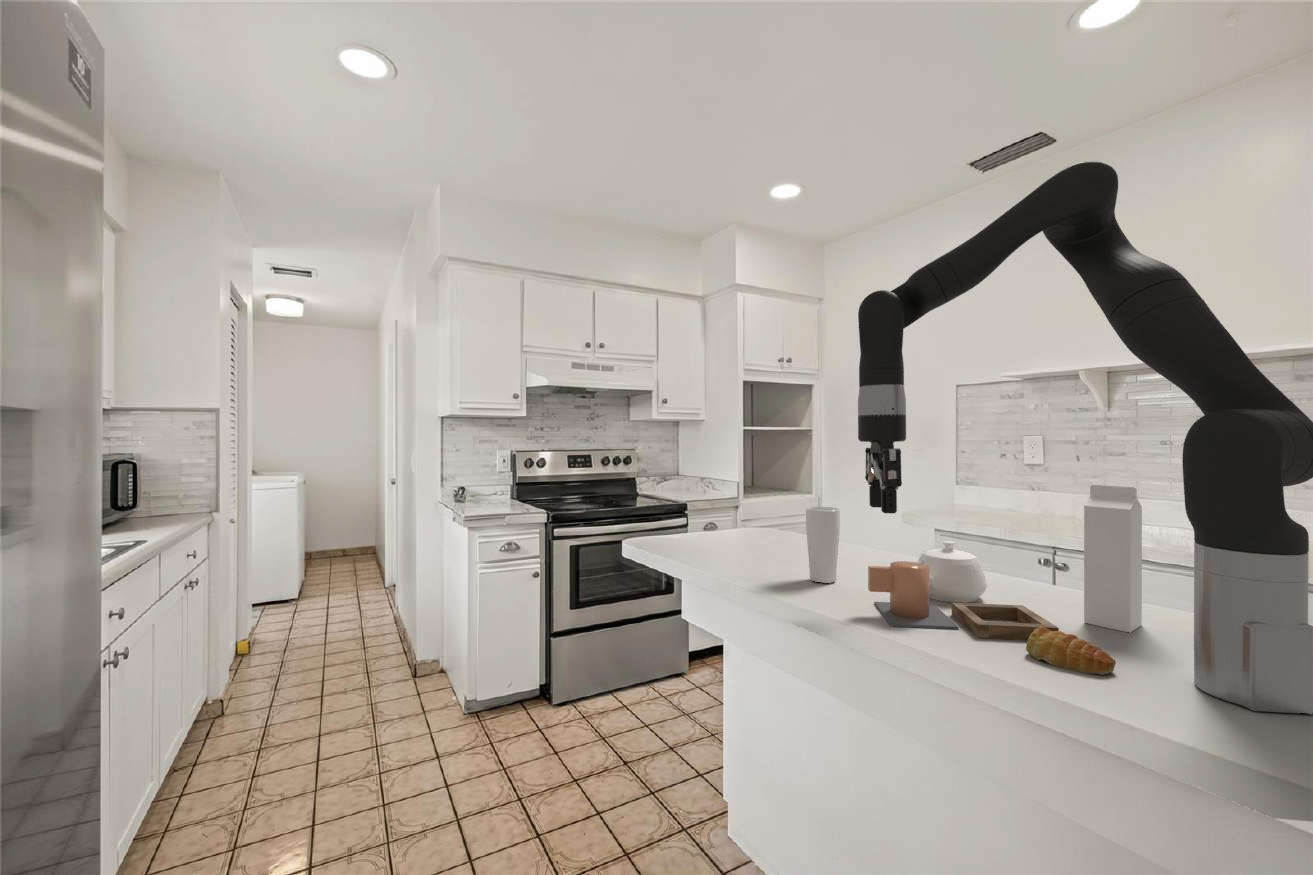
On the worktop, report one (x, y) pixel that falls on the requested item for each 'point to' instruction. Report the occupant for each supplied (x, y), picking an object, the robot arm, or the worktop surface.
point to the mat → (933, 621)
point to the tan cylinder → (903, 587)
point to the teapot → (953, 574)
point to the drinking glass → (823, 542)
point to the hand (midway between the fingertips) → (882, 510)
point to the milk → (1113, 558)
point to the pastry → (1068, 652)
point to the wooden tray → (975, 613)
